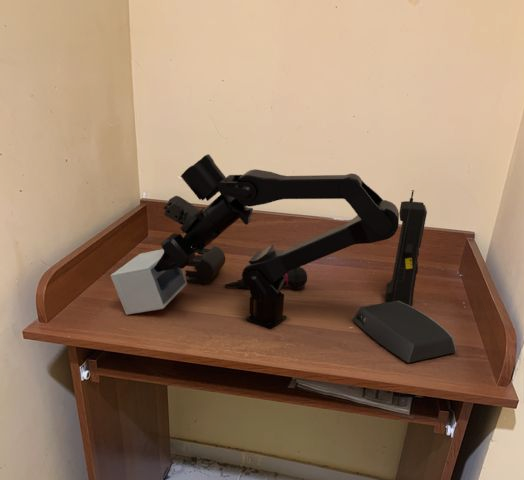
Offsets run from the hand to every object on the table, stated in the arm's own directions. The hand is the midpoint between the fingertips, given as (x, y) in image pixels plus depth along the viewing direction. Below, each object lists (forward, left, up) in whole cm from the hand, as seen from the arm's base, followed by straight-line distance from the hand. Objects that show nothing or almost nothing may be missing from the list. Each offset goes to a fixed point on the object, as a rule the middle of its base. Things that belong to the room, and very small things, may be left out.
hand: (164, 262), depth 110 cm
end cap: (+4, -18, -10) cm, 21 cm away
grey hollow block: (+2, +1, -9) cm, 9 cm away
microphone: (-11, -23, -10) cm, 28 cm away
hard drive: (-47, -19, -10) cm, 52 cm away
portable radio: (-40, -35, -10) cm, 54 cm away
